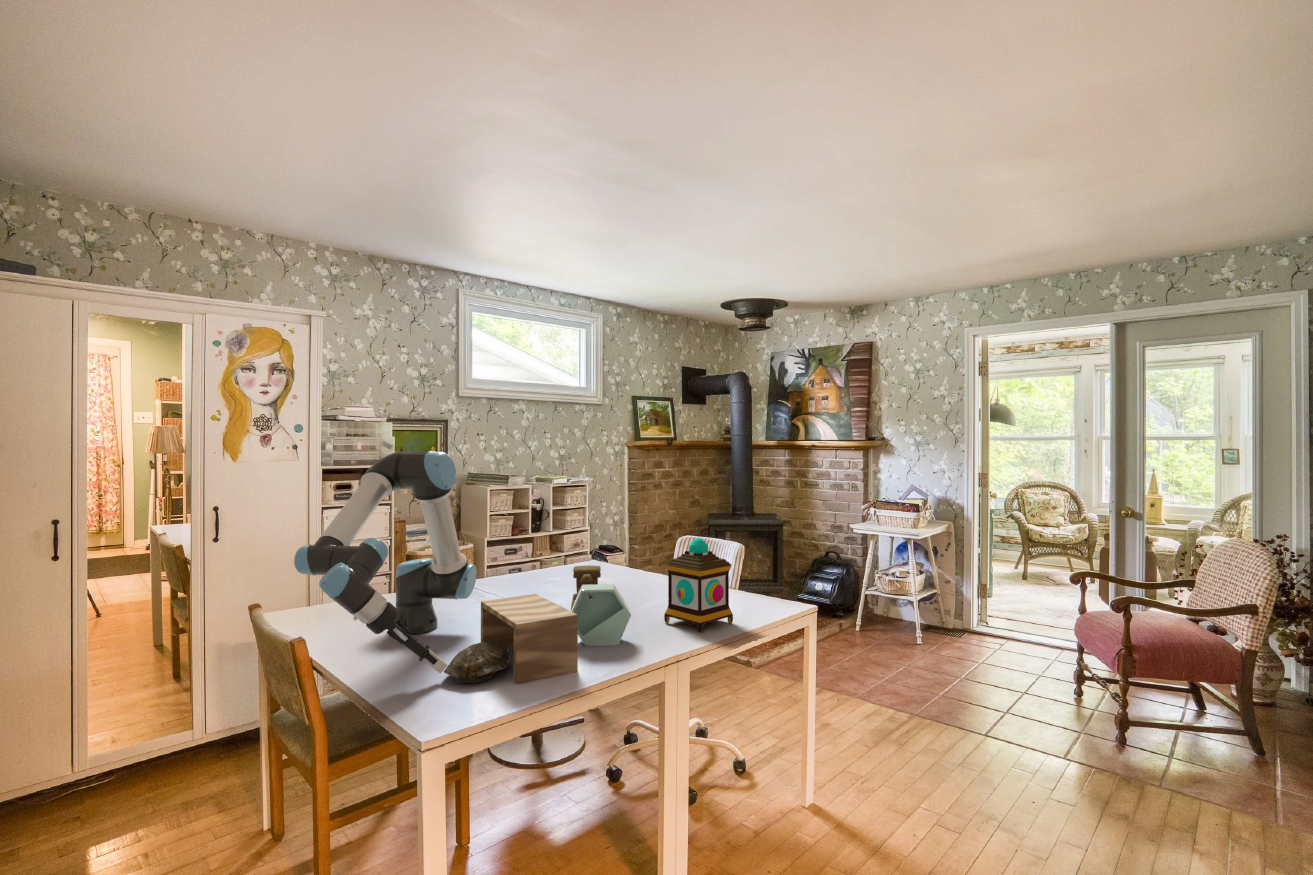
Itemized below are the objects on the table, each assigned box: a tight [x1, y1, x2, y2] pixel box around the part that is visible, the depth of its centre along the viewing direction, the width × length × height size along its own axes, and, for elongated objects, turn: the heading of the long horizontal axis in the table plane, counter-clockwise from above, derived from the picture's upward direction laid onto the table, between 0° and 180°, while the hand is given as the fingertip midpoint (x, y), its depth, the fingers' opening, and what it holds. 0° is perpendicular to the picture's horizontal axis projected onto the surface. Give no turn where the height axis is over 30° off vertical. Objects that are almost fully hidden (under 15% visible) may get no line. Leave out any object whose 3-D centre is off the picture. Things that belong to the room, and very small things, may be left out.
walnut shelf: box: [480, 593, 579, 685], centre depth 180 cm, size 30×18×16 cm, turn 33°
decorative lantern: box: [663, 537, 734, 634], centre depth 220 cm, size 20×20×30 cm
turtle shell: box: [443, 641, 510, 684], centre depth 170 cm, size 16×9×20 cm
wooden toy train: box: [570, 565, 602, 611], centre depth 230 cm, size 20×11×17 cm, turn 5°
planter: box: [570, 583, 632, 647], centre depth 198 cm, size 17×8×21 cm
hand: (443, 668), depth 165 cm, fingers closed
